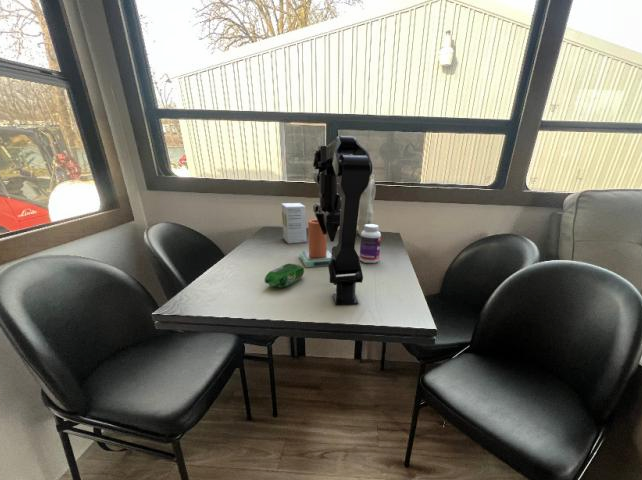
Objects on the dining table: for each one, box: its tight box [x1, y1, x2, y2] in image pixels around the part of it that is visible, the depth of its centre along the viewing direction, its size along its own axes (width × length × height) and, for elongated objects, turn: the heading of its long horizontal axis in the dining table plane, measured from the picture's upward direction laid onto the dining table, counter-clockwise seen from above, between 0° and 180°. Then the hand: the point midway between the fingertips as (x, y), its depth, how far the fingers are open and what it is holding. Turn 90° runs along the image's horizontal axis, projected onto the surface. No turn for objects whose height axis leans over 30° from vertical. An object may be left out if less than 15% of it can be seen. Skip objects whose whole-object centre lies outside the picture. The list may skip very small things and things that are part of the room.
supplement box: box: [281, 202, 308, 244], centre depth 139 cm, size 10×9×17 cm
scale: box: [299, 249, 332, 268], centre depth 118 cm, size 12×12×3 cm
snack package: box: [264, 263, 305, 288], centre depth 97 cm, size 7×16×5 cm, turn 153°
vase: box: [357, 173, 377, 237], centre depth 151 cm, size 9×8×30 cm
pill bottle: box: [359, 224, 382, 264], centre depth 118 cm, size 8×8×14 cm
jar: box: [307, 218, 328, 257], centre depth 114 cm, size 7×7×13 cm
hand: (328, 237), depth 102 cm, fingers open, 9 cm apart
